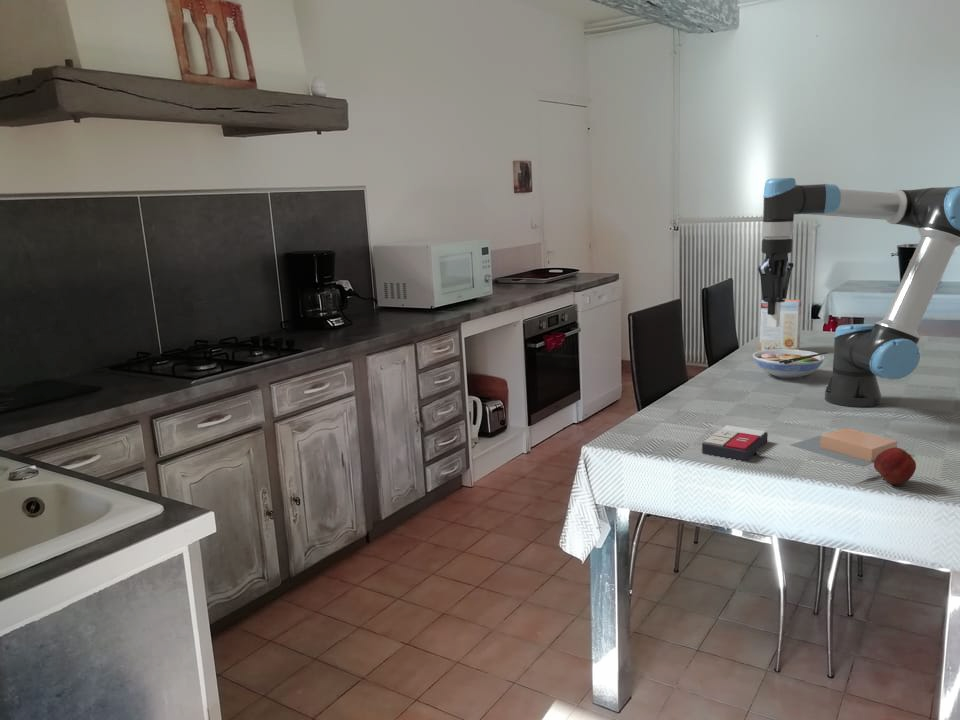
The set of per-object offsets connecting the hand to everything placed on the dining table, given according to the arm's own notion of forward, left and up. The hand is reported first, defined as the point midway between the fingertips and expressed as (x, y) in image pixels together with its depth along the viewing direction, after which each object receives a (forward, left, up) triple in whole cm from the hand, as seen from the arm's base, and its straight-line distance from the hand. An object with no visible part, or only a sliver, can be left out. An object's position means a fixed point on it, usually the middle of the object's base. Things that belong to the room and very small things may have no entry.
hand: (773, 326), depth 204 cm
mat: (+9, +27, -26) cm, 39 cm away
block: (+9, +23, -24) cm, 35 cm away
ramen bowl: (-49, -25, -27) cm, 61 cm away
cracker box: (-82, -49, -27) cm, 99 cm away
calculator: (+28, +8, -27) cm, 39 cm away
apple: (+22, +44, -27) cm, 56 cm away
